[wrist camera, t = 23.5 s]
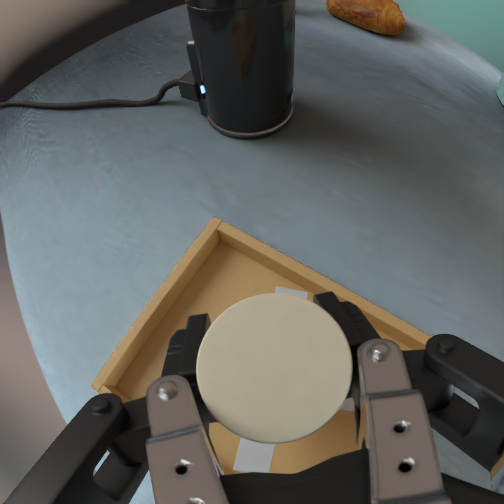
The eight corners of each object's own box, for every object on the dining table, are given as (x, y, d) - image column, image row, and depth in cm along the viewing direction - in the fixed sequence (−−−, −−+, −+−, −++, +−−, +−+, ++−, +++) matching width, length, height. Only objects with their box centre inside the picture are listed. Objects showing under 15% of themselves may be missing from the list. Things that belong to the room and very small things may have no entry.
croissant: (377, 51, 42) (389, 16, 35) (312, 12, 46) (317, -21, 38) (415, 38, 45) (427, 9, 38) (356, 2, 49) (363, -26, 41)
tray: (106, 387, 21) (90, 385, 19) (219, 232, 26) (214, 215, 24) (326, 526, 15) (332, 539, 13) (430, 350, 21) (446, 344, 18)
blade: (167, 441, 16) (59, 474, 6) (209, 285, 20) (155, 175, 10) (339, 476, 14) (412, 551, 5) (369, 315, 19) (456, 227, 9)
